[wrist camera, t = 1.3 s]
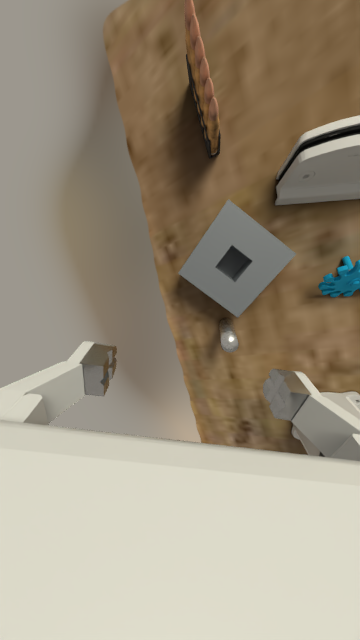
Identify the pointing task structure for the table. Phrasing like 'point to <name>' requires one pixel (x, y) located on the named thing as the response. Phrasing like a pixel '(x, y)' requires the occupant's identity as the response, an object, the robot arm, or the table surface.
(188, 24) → the ammunition clip
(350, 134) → the hinge
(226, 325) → the steel pin
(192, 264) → the pin block
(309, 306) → the table surface
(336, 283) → the gear
